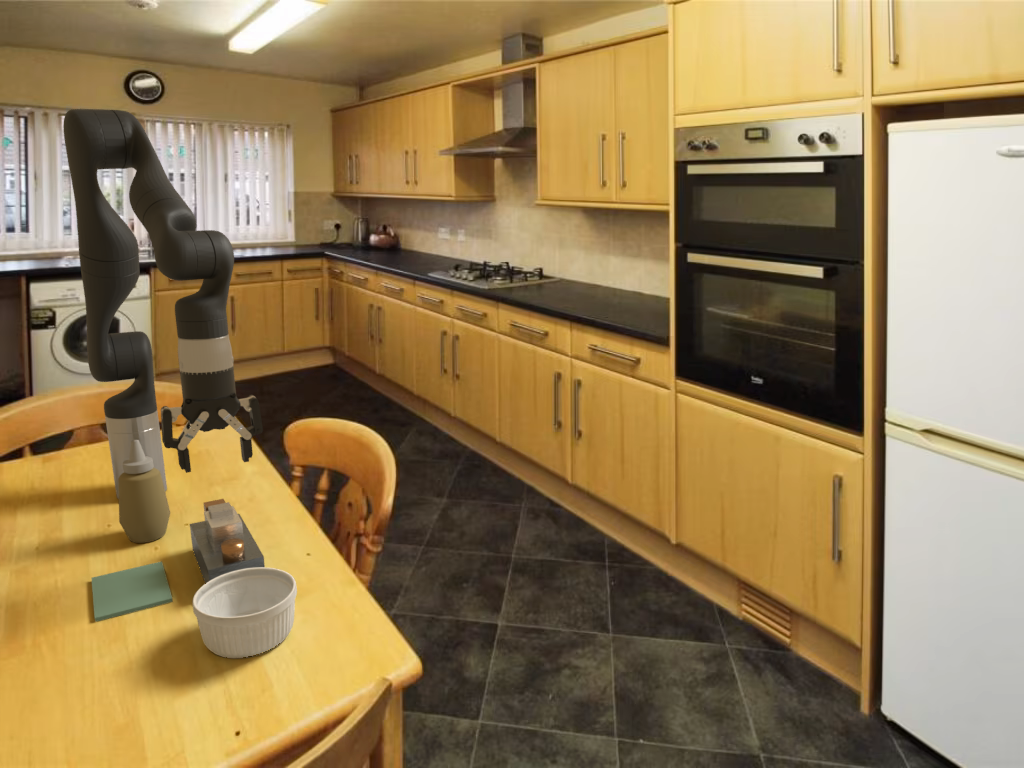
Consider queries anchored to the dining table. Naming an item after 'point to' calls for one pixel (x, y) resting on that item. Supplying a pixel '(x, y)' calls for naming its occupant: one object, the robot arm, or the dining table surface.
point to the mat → (130, 591)
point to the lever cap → (222, 524)
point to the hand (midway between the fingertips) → (217, 465)
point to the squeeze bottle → (142, 498)
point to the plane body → (224, 550)
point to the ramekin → (246, 611)
